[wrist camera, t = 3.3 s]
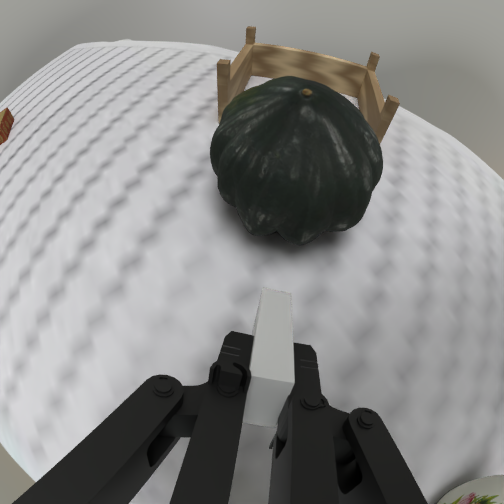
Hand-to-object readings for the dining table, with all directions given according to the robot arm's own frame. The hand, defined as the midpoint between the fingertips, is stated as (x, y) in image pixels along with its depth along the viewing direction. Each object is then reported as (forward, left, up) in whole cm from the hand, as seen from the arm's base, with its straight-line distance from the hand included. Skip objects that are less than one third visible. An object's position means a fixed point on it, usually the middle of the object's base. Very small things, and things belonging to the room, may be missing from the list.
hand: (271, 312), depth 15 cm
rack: (0, -32, -8) cm, 33 cm away
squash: (0, -14, -8) cm, 16 cm away
